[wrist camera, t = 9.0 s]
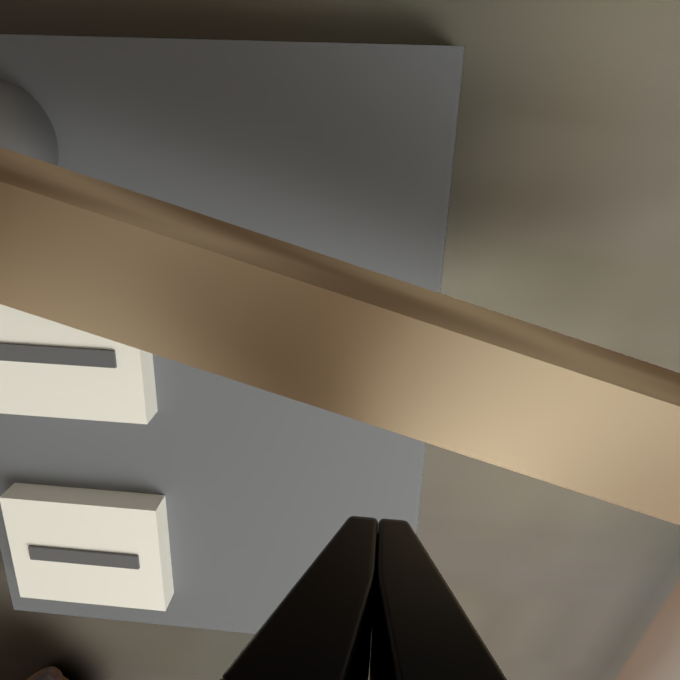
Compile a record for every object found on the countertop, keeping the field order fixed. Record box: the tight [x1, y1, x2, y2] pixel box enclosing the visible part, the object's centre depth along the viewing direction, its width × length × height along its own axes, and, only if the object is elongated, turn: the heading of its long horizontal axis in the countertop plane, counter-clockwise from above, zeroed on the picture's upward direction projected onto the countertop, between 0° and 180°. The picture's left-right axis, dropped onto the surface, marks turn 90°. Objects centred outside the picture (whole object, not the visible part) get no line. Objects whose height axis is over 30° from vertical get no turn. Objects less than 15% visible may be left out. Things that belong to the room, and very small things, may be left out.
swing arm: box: [0, 147, 680, 525], centre depth 10 cm, size 20×4×2 cm, turn 72°
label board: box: [0, 34, 464, 636], centre depth 16 cm, size 14×18×5 cm
